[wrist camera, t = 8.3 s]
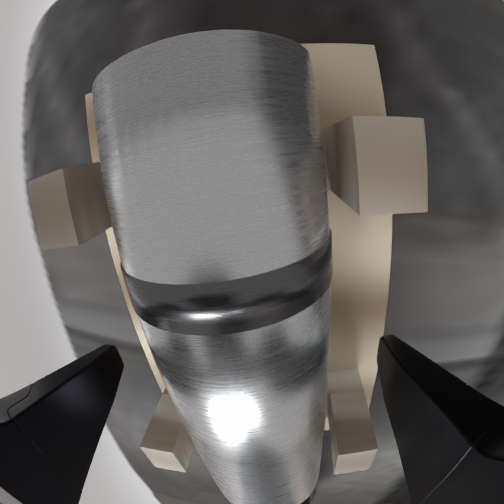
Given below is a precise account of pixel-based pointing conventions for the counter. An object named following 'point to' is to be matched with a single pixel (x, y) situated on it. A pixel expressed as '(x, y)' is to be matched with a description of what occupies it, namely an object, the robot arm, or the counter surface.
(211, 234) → the metal tube
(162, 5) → the counter surface
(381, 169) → the collar stand
